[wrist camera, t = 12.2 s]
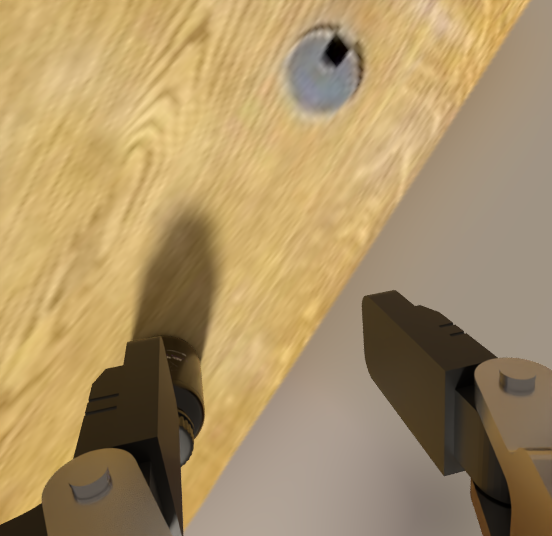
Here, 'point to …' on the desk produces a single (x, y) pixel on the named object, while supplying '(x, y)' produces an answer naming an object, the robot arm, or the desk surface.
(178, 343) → the supplement bottle
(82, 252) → the desk surface
